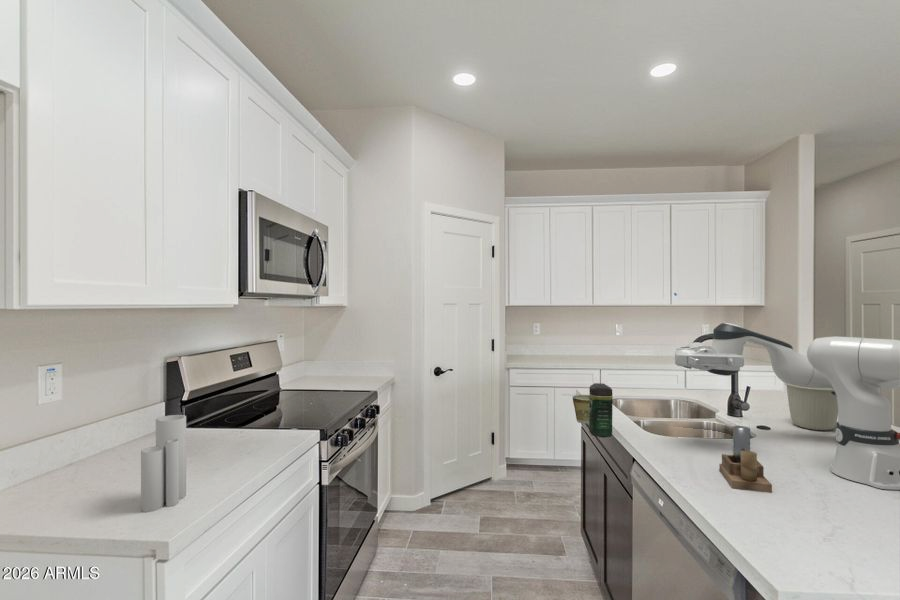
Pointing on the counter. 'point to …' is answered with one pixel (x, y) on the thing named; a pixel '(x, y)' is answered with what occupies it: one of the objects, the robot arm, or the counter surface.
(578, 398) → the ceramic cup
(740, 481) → the walnut housing
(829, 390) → the beige round tub
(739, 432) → the grey metal pin
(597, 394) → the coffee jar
